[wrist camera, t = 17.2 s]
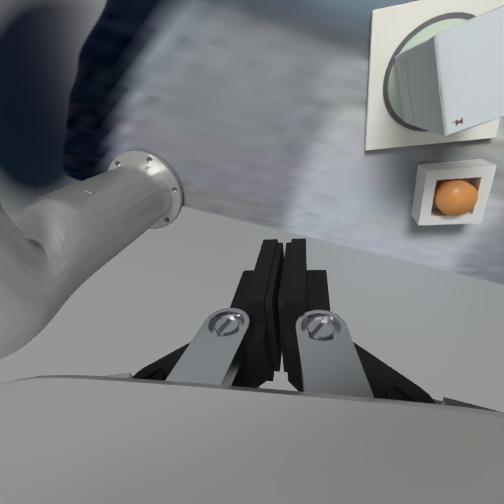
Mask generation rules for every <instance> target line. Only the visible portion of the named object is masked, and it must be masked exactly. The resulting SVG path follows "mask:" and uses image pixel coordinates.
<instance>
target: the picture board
mask: <svg viewBox="0 0 504 504" xmlns="http://www.w3.org/2000/svg"><path fill="white" fill-rule="evenodd" d="M502 5H504V0H420V1H415V2H410V3H405V4H400V5H396V6H391V7H386V8H381V9H377V10H373V11H372V15H371V35H370V55H369V76H368V96H367V116H366V136H365V150H375V149H385V148H395V147H405V146H415V145H425V144H436V143H446V142H456V141H466V140H476V139H486V138H495V137H496V133H497V129H498V125H499V121H500V118H498V119H495V120H493V121H490V122H487V123H484V124H481V125H478V126H475V127H473V128H470V129H467V130H464V131H461V132H458V133H455V134H452V135H450V136H447V137H444V136H441V135H439V134H436V133H433V132H430V131H427V130H425V129H422V128H419V127H416V126H413V125H411V124H408V123H405V122H404V115H403V109H402V103H401V97H400V91H399V85H398V78H397V72H396V64H395V56H397V55H398V54H400V53H402V52H403V51H405V50H407V49H409V48H411V47H413V46H415V45H417V44H419V43H421V42H423V41H425V40H427V39H429V38H431V37H432V36H434V35H435V34H437V33H439V32H442V31H444V30H446V29H449V28H451V27H453V26H455V25H458V24H460V23H462V22H465V21H467V20H469V19H472V18H474V17H476V16H479V15H481V14H483V13H485V12H488V11H490V10H493V9H495V8H497V7H500V6H502Z"/></svg>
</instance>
